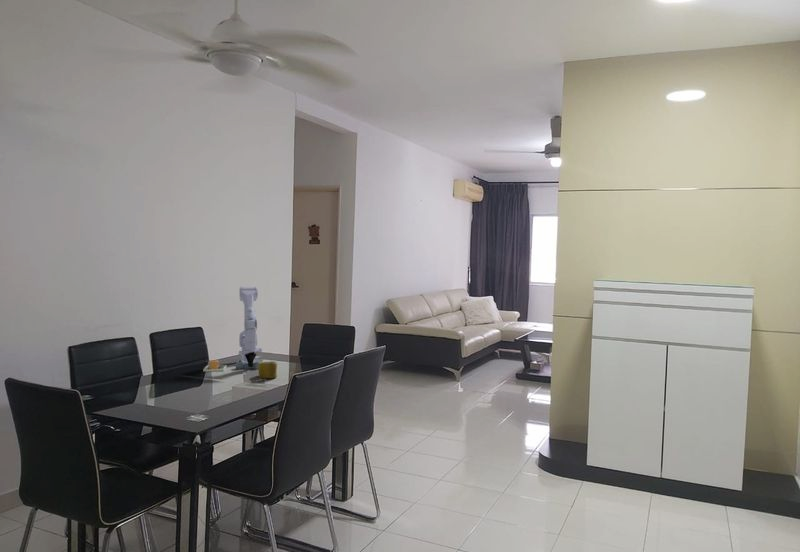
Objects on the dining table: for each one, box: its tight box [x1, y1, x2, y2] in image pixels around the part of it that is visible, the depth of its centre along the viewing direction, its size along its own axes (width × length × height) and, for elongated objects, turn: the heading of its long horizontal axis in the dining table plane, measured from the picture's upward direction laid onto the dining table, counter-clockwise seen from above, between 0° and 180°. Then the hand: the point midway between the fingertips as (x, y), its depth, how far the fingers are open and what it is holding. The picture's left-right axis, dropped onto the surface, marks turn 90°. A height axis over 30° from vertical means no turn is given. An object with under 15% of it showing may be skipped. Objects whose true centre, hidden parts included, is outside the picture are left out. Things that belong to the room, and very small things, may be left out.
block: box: [209, 359, 220, 369], centre depth 319 cm, size 4×4×5 cm
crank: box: [235, 359, 260, 370], centre depth 323 cm, size 12×5×4 cm, turn 97°
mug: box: [257, 361, 278, 380], centre depth 306 cm, size 12×10×10 cm
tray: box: [202, 364, 228, 372], centre depth 320 cm, size 11×11×2 cm
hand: (250, 366), depth 321 cm, fingers closed, pressing on crank
